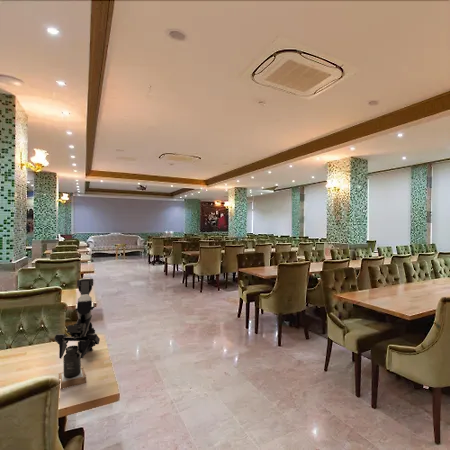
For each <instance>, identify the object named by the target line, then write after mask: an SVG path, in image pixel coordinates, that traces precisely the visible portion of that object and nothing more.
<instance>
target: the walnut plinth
mask: <svg viewBox="0 0 450 450" xmlns="http://www.w3.org/2000/svg"><path fill="white" fill-rule="evenodd" d="M59 379H61V390H64V389H67V387H68V388H71V387H75V386H78V385H82V384H86V383H87V376H86V372H85V369H84V367H81V373H80V374H79V375H78V376H76V377H72V378H65V377H64V371H62V372H59V373H58V380H59ZM63 388H64V389H63Z"/></svg>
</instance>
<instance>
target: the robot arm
mask: <svg viewBox="0 0 450 450" xmlns="http://www.w3.org/2000/svg"><path fill="white" fill-rule="evenodd" d="M93 287H94V278H91V277H85V278H83V277H82V278H79V279H78V280H76V288H78V289H77V290H78V291H79V293H80V296H79V297H78V298H77V302H76V304H75V312H77V321H76V323H74V324H72V325H71V324H68V325H67V329H66V333H56V335H55V336H54V338H53V340H54V341H55V342H56V344H58V346H59V353H58V354H59V359H62V358H63V357H64V355H65V353H66V348H67V347H68V343H69V342H77V346H78V352H80V354H81V357H80V358H81V360H82V359H83V358H84V357H85V356H86V354H87V353H88V352H92V351H93V350H94V349H93V347H95V346H96V345H99V344H100V337H99V336H98V334H97V333H96V329H95V328H94V327H93V324H92V322H91V320H92V317H93V315H92V310H94V309H95V307H96V306H95V303H94V301H92V300H93V299H92V296H90V294H91V292H92V289H93ZM67 334H69V335H70V336H68V335H67Z"/></svg>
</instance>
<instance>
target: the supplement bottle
mask: <svg viewBox="0 0 450 450" xmlns="http://www.w3.org/2000/svg"><path fill="white" fill-rule="evenodd" d="M81 354H82V353H80V352H79V351H78V345H70V346H67V347H66V350H65V353H64V354H63V356H62V358H63V359H62V360H63V364H62V365H63V372H64V377H65V378H72V377H76V376H78V375H79V374H80V373H81V368H82V367H81V366H82V361H81V360H82V359H81V358H80V357H81Z"/></svg>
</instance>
